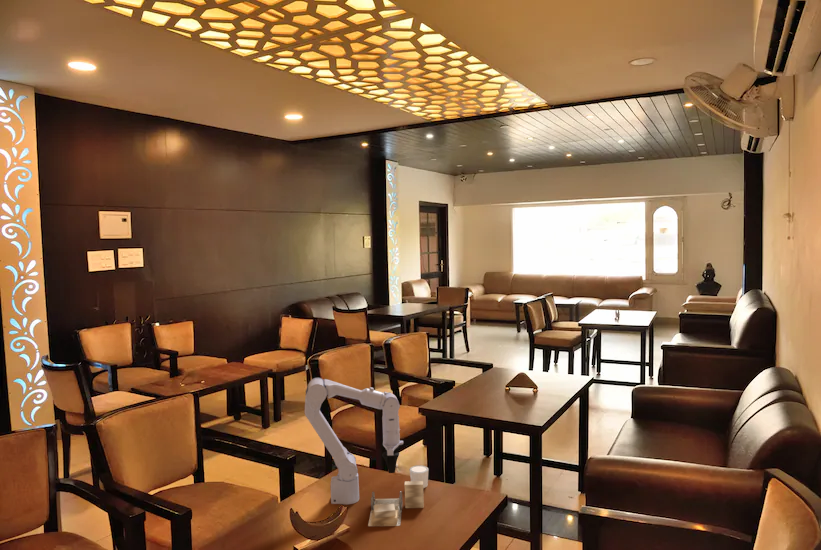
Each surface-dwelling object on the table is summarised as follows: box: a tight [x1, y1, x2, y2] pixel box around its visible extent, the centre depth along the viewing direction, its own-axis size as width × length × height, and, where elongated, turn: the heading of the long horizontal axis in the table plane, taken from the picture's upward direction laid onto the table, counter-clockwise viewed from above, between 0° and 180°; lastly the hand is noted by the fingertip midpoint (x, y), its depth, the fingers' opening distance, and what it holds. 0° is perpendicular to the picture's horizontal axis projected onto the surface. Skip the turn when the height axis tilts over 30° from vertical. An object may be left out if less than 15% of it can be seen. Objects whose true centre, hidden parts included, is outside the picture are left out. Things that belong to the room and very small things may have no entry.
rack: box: [367, 490, 403, 527], centre depth 178 cm, size 10×16×5 cm, turn 178°
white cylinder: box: [409, 465, 429, 489], centre depth 198 cm, size 7×7×7 cm
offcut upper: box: [374, 504, 396, 518], centre depth 174 cm, size 6×4×2 cm
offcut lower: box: [371, 510, 398, 524], centre depth 174 cm, size 8×5×2 cm, turn 88°
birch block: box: [404, 480, 425, 509], centre depth 183 cm, size 6×3×8 cm, turn 88°
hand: (392, 467), depth 191 cm, fingers open, 7 cm apart
